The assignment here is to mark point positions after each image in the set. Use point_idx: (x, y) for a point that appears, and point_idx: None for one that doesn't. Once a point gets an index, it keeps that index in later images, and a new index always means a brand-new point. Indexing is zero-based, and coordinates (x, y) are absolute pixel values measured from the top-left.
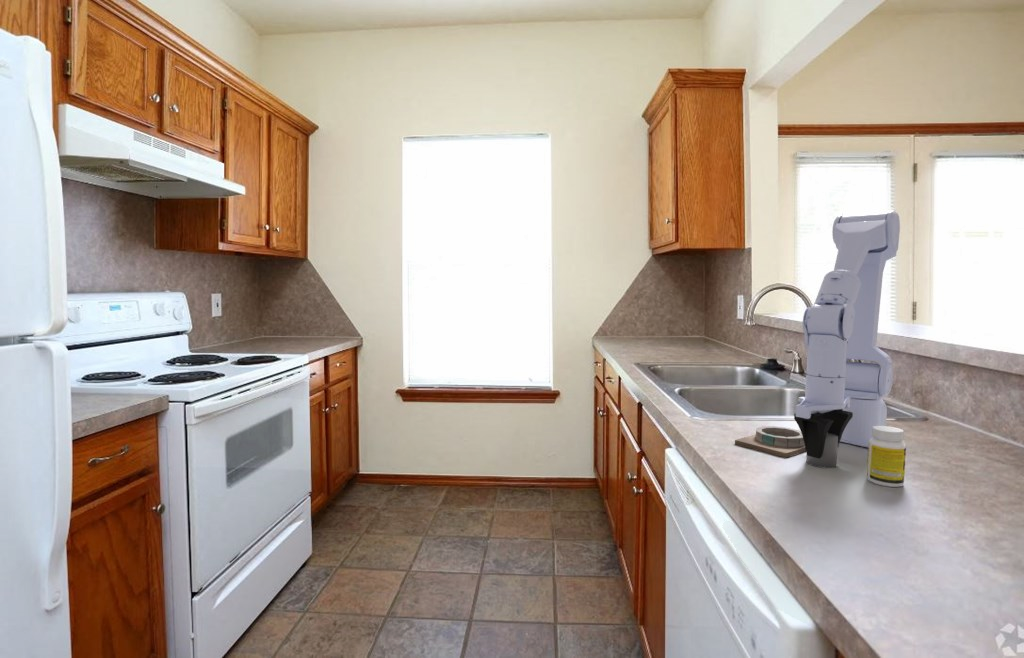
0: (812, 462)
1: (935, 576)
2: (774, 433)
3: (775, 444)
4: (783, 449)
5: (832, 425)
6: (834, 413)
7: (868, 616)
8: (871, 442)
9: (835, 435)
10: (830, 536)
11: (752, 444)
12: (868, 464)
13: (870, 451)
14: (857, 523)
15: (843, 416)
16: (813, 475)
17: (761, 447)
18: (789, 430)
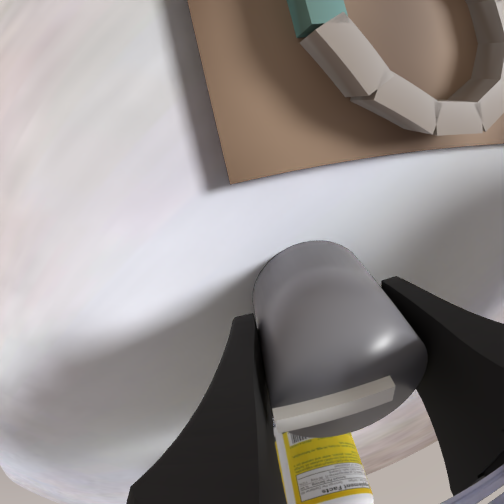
0: (254, 306)
1: (87, 499)
2: None
3: (306, 45)
4: (280, 122)
5: (448, 407)
6: (476, 469)
7: (16, 479)
8: None
9: (392, 407)
10: (32, 459)
11: None
12: (285, 457)
13: (288, 494)
14: (81, 468)
15: (458, 479)
16: (158, 366)
17: (195, 34)
18: (497, 19)
